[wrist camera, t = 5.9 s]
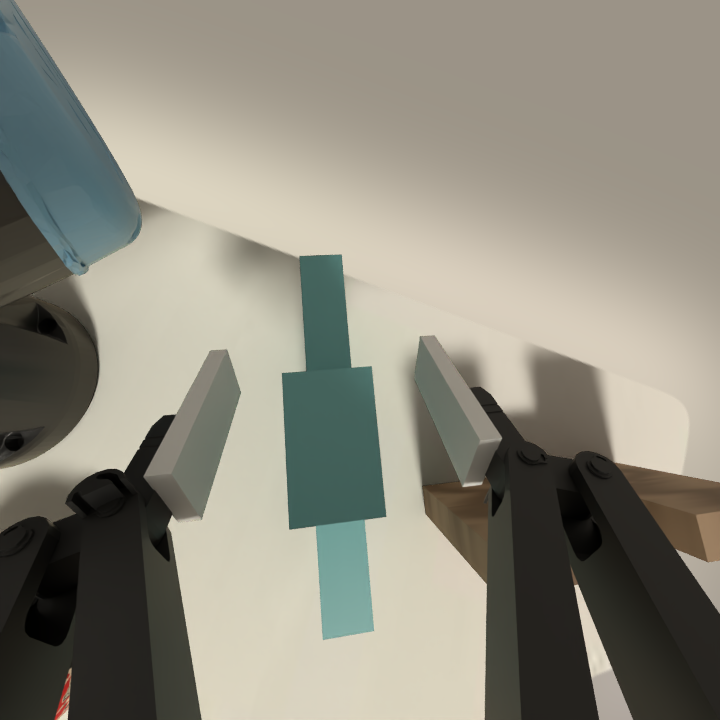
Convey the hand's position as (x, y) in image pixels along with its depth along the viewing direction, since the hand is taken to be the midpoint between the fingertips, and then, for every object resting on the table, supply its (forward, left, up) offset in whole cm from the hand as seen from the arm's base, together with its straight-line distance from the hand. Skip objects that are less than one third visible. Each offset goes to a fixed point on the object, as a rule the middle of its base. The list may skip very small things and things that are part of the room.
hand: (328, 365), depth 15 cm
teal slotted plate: (+1, -3, -13) cm, 14 cm away
